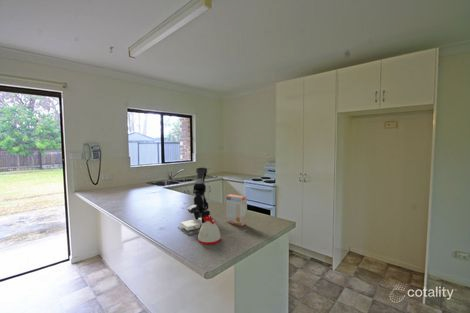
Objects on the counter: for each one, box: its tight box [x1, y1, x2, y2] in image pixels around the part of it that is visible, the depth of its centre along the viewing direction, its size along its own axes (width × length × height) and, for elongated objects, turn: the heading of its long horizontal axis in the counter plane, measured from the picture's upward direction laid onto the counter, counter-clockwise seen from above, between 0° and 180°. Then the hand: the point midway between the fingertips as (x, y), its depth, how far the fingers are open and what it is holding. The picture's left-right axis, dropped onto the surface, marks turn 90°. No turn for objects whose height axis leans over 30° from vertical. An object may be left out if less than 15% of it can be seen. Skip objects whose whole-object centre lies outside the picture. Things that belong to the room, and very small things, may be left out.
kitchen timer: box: [197, 215, 222, 246], centre depth 133 cm, size 14×14×15 cm
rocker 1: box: [180, 219, 200, 230], centre depth 148 cm, size 9×12×2 cm
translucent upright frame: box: [225, 193, 247, 227], centre depth 160 cm, size 14×6×21 cm, turn 52°
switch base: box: [177, 225, 201, 236], centre depth 151 cm, size 22×16×1 cm
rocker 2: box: [194, 217, 215, 226], centre depth 155 cm, size 9×12×2 cm
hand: (199, 222), depth 152 cm, fingers open, 9 cm apart
